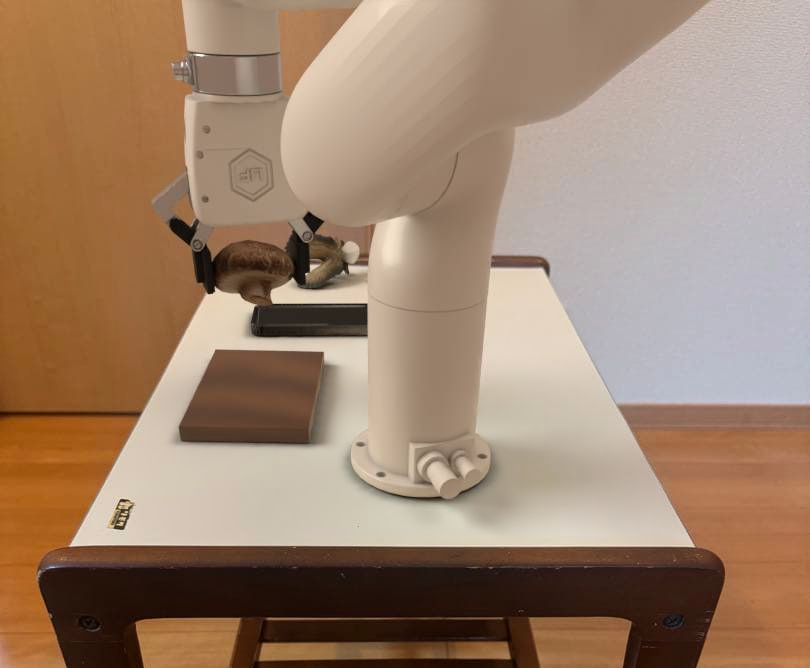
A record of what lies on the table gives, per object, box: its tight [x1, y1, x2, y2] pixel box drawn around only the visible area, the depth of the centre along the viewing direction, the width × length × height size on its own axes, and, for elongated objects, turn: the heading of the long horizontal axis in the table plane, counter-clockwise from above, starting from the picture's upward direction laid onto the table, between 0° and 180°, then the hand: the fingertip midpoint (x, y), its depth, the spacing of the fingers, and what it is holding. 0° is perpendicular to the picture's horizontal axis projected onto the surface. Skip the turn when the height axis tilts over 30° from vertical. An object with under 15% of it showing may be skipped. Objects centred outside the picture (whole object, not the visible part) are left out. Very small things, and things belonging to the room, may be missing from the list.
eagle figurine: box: [283, 233, 361, 289], centre depth 110 cm, size 8×7×9 cm
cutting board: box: [178, 348, 325, 444], centre depth 80 cm, size 18×12×2 cm, turn 0°
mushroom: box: [212, 239, 296, 306], centre depth 75 cm, size 8×8×6 cm
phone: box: [250, 302, 368, 336], centre depth 97 cm, size 8×1×15 cm
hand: (254, 284), depth 76 cm, fingers closed on mushroom, 8 cm apart
